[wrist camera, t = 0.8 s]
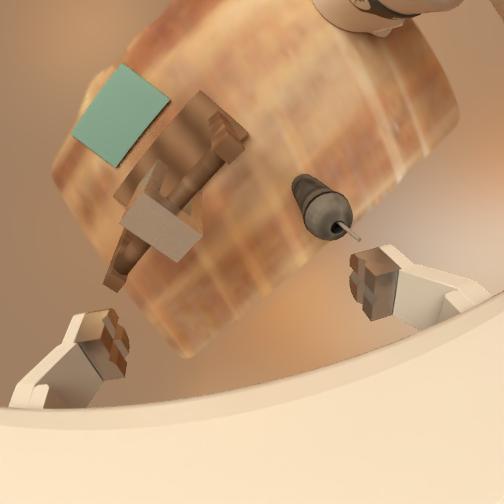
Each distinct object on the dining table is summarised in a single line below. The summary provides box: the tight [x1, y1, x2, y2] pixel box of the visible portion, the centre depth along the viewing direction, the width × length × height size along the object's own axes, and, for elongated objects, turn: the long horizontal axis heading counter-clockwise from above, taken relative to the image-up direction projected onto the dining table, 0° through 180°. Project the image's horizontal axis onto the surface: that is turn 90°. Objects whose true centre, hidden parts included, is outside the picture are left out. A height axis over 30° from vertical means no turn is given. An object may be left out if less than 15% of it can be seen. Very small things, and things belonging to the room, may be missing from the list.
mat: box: [71, 63, 170, 168], centre depth 41 cm, size 14×10×1 cm
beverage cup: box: [291, 174, 361, 242], centre depth 44 cm, size 7×7×20 cm
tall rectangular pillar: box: [119, 159, 203, 263], centre depth 32 cm, size 4×7×11 cm, turn 45°
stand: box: [103, 91, 248, 293], centre depth 38 cm, size 22×10×22 cm, turn 135°
